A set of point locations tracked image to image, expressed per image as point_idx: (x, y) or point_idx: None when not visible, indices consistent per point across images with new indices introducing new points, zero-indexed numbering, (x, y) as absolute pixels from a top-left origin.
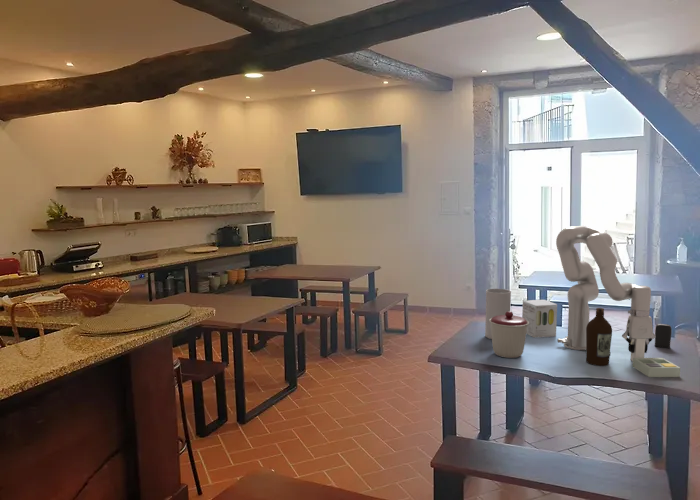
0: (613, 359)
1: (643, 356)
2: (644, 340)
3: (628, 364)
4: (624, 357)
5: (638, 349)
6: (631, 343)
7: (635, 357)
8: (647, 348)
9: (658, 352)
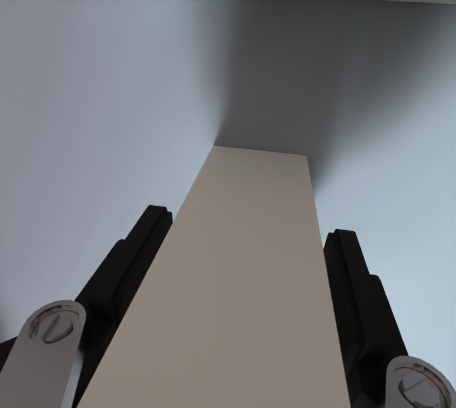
0: (446, 261)
1: (207, 176)
2: (105, 398)
3: (435, 106)
4: None
5: (275, 243)
6: (419, 382)
7: (310, 181)
8: (107, 255)
9: (10, 311)
